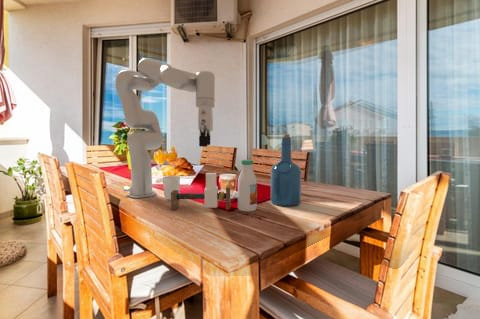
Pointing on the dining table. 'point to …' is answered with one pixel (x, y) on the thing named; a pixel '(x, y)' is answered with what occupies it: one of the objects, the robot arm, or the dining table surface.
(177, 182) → the white cup
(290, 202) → the wine bottle
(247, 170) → the milk bottle
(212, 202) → the marker sleeve
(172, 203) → the cord rail
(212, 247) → the dining table surface
